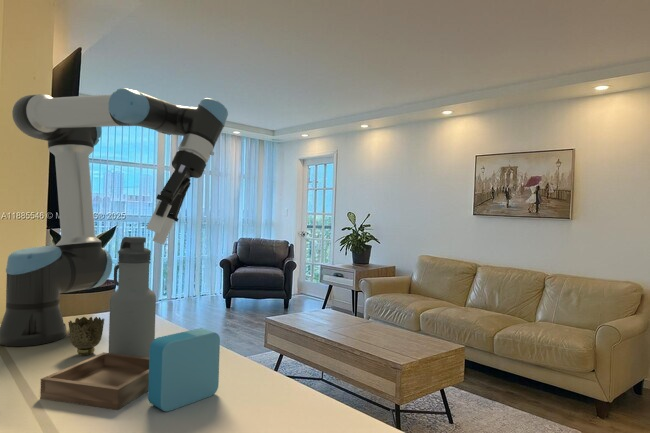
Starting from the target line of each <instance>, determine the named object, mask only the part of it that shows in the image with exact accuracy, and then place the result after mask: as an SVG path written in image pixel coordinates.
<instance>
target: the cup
mask: <svg viewBox="0 0 650 433" xmlns="http://www.w3.org/2000/svg"><path fill="white" fill-rule="evenodd" d="M74 319H75V321H72V320H69V321H68V330H69V337H70V342H71V345H72V346H73V347H74V348H76V349H77V350H76V353H77V355H79V356H89V355H93V354H94V353H95V350H96V348H95V347H96V346H97V345H99V344H100V342H101V340H102V336H103V332H104V331H103V330H104V324H105V318H102V319H101V317H98V316H95V317H94V318H93V317H92V316H90V317H89V318H87V317H85V316H83V317H81V318H79V317H76V318H74Z"/></svg>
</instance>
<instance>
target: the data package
mask: <svg viewBox="0 0 650 433" xmlns="http://www.w3.org/2000/svg"><path fill="white" fill-rule="evenodd" d="M220 342H221V338H220V335H219V334H218V333H217V332H215V331H212V330H208V329H205V328H201V327H200V328H196V329H192V330H191V329H190V330H187V331H186V330H185V331H181V332H176V333H172V334H168V335H162V336H158V337H155V339H154V340H153V341H152V343H151V345H150V353H149V387H148V391H147V394H148V395H147V399H148V403H149V404H151V405H152V406H154V407H156V408H158V409H160V410H161V411H163V412H167V413H168V412H172V411H174V410H177V409H179V408H182V407H185V406H188V405H190V404H193V403H196V402H198V401H201V400H205V399H207V398H211V397H212V396H214V395H215V394H216V393H217V391H218V389H219V382H220V380H219V379H220V378H219V377H220V353H221V352H220V345H221V343H220Z"/></svg>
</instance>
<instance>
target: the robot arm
mask: <svg viewBox="0 0 650 433" xmlns="http://www.w3.org/2000/svg"><path fill="white" fill-rule="evenodd" d="M11 114H12V119H13V122H14V123H15V125H16V127H17V128H18V129H19V131H21V133H23V134H25V135H27V136H28V137H31V138H34V139H37V140H42V141H46V142H47V148H48V152H50V153H51V154H53V156H54V161H55V173H56V175H55V176H56V187H57V201H58V212H59V214H58V215H59V226H60V240H59V241H58V242H57V243H56V244H55V246H53V245H52V246H51V245H47V246H46V245H44V246H34V247H32V246H31V247H28V248H22V249H18V250H15V251H12V252H11V254H9V255H8V257H7V262H6V268H5V273H6V283H5V284H6V285H5V288H6V290H5V291H6V292H5V297H6V298H5V313H4V315H3V317H2V320H1V322H0V323H1V324H0V346H5V347H29V346H38V345H42V344H48V343H53V342H56V341H58V340H61V339H64V338H65V337H67V336H66V335H67V325H66V323H64V318H63V317H64V316H63V314H62V311H61V306H60V294H66V293H72V292H77V291H83V290H84V291H86V290H92V289H93V288H97V287H101V286H102V285H104V284H105V283H106V281H107V280H108V279H109V278H110V276H111V274H112V270H113V259H112V255H111V253H109V251H108V250H107V249H105V248H103V247H102V246H103V245H102V240H101V239H99V238H98V237H97V236H96V229H95V220H94V206H93V205H94V204H93V195H92V194H93V193H92V180H91V169H90V168H91V167H90V155H91V154H93V153H94V151H95V148H94V147H95V146H96V145H98V144H99V142H100V138H101V137H102V127H103V128H104V127H141V128H146V129H150V130H155V131H156V132H158V133H160V134H164V135H168V136H170V135H174V136H180V137H181V136H182V137H183V138H182V140H181V142H180V143H179V146H178V148H177V151H176V153H175V155H174V157H173V159H172V161H171V166H172V168H174V170H173V173H172V174H171V176H170V177H169V179H168V181H167V182H166V183H165V185H164V187H163V188H162V190H161V191H160V194H157V195H156V198H155V199H156V200H158V203H157V204H156V207H155V209H154V211H153V213H152V215H151V218H150V220H149V221H148V224H147V225H146V230H149V231H153V232H155V234H154V237H153V238H152V241H153V242H155V243H157V244H161V245H163V246H164V245H165V243H166V241H167V238H168V236H169V234H170V231H171V230H172V228H173V225H174V223H178V221H179V218H178V216H179V213H180V210H181V208H182V205H183V202H184V200H185V197H186V195H187V192H188V190H189V189H190V186H191V178H194V179H198V178H199V179H200V178H201V177H202V176H203V173H204V172H205V169H206V166H207V163H208V162H209V160H210V157H211V156H214V155H215V152H214V149H215V145H216V143H217V141H218V139H219V138H220V135H221V133H222V131H223V129H224V128H225V124H226V121H227V119H228V116H229V111H228V108H227V107H226V106H225V105H224V104H223V103H221V102H220V101H218V100H216V99H214V98H210V97H206V98H203V99H201V100H200V102H199V103H198V105H197V107H196V106H186V105H179V104H174V103H171V102H168V101H165V100H163V99H159V98H158V97H157V98H156V97H154V96H151V95H149V94H147V93H143V92H141V91H139V90H138V89H137V90H136V89H129V88H126V87H122V88H117V89H116V90H115V91H113V92H112V93H109V94H98V95H97V94H96V95H94V94H93V95H77V96H61V97H52V96H50V95H48V94H42V93H41V94H29V95H25V96H22V97H21V98H19V99H18V100H17V101H16V102H15V103H14V105H13V108H12V113H11Z"/></svg>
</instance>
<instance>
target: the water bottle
mask: <svg viewBox="0 0 650 433" xmlns="http://www.w3.org/2000/svg"><path fill="white" fill-rule="evenodd" d="M146 238H147V237H143V236H124V237H123V238H122V239H121V243H120V245H119V246H120V247H119V250H118V251H117V254H118V261H117V264H116V265H115V266H114V268H113V284H114V285H115V286H117V290H115V291H114V292H113V293H112V294H111V295H110V299H109V317H108V318H109V323H108V324H109V328H108V353H113V354H121V355H130V356H138V357H147V358H149V353H150V345H151V343H152V341H153V340H154V339H156V311H157V310H156V306H157V303H156V302H157V297H156V294H155V293H156V292H154V291H153V290H152V289H150V264H152V263H151V260H152V258H151V254H152V251H151V249H149V248H145V243H146V242H147V241H146V240H147V239H146Z"/></svg>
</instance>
